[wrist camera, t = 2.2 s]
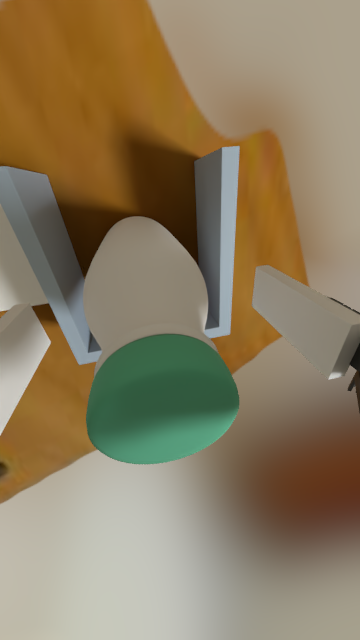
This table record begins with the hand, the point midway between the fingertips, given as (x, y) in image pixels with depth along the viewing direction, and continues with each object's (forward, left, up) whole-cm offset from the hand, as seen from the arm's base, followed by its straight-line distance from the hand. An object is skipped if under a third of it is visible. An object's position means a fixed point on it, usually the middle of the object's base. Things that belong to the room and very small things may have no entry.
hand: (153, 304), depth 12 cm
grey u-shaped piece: (0, 0, -12) cm, 12 cm away
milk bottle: (0, 0, -12) cm, 12 cm away
